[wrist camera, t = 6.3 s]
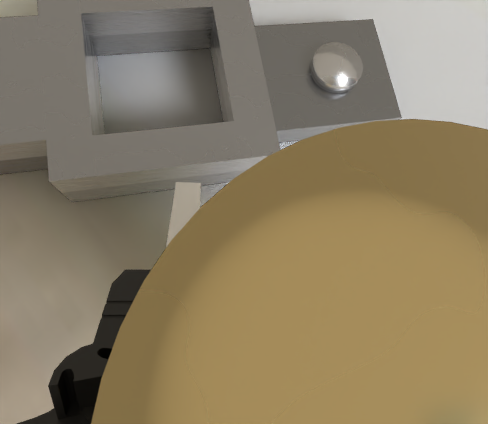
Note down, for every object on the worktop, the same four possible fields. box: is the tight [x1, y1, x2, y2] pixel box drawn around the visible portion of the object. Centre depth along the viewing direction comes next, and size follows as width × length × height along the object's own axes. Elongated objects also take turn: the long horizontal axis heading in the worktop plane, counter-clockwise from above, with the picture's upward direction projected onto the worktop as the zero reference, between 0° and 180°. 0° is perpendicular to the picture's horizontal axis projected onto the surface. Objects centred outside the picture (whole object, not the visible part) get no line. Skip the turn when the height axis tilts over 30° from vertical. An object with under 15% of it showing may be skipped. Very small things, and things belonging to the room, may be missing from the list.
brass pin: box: [91, 119, 488, 424], centre depth 9 cm, size 5×5×14 cm
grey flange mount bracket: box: [0, 0, 402, 202], centre depth 18 cm, size 24×10×4 cm, turn 100°
